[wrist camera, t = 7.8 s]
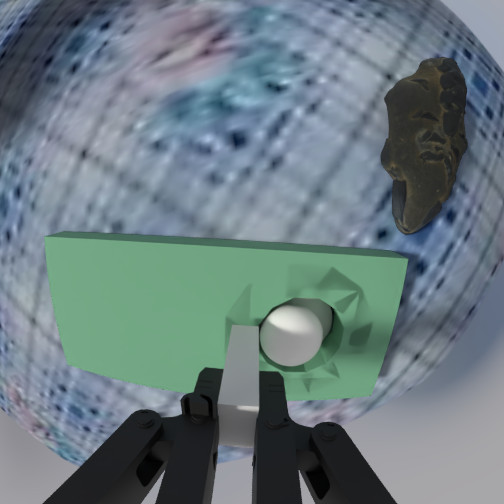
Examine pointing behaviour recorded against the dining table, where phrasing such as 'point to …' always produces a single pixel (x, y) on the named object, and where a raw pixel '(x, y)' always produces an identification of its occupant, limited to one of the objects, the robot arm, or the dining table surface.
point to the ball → (291, 335)
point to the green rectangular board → (219, 307)
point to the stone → (424, 140)
